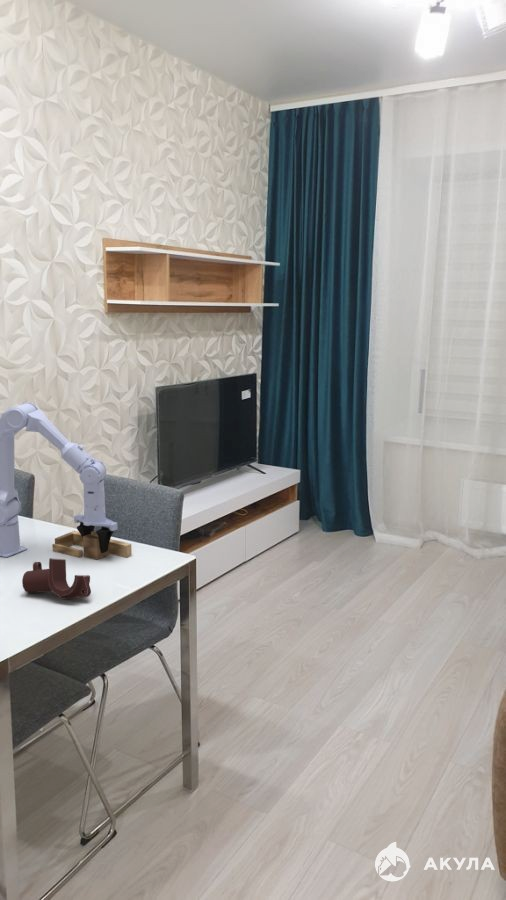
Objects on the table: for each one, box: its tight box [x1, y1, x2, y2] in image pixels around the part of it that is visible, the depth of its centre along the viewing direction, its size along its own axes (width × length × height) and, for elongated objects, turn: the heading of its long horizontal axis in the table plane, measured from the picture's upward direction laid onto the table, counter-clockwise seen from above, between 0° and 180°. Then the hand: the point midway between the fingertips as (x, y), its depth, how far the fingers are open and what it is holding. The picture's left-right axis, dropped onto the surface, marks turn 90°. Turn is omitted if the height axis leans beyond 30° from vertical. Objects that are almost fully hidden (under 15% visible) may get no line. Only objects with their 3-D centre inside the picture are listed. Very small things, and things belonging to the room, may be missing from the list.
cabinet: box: [82, 530, 110, 561], centre depth 205 cm, size 5×5×7 cm
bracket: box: [21, 557, 92, 600], centre depth 178 cm, size 6×17×10 cm, turn 76°
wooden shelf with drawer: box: [52, 530, 133, 559], centre depth 207 cm, size 22×9×4 cm, turn 60°
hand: (96, 550), depth 206 cm, fingers closed on cabinet, 5 cm apart
